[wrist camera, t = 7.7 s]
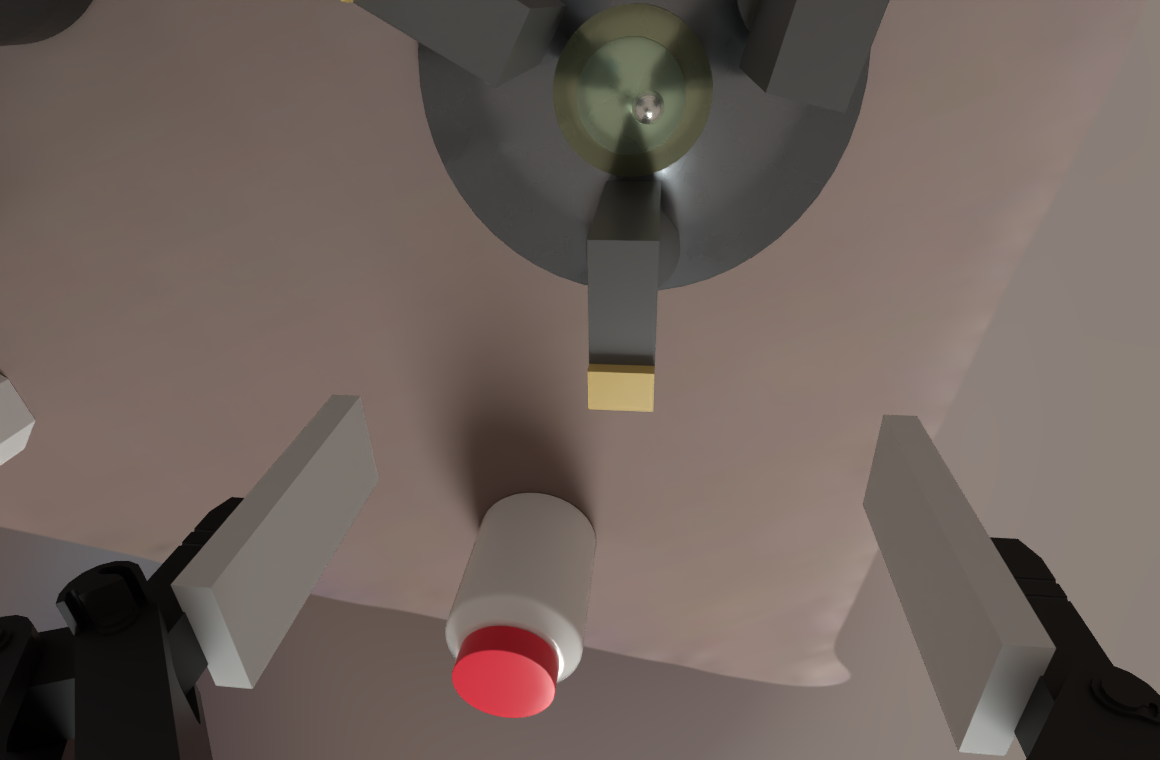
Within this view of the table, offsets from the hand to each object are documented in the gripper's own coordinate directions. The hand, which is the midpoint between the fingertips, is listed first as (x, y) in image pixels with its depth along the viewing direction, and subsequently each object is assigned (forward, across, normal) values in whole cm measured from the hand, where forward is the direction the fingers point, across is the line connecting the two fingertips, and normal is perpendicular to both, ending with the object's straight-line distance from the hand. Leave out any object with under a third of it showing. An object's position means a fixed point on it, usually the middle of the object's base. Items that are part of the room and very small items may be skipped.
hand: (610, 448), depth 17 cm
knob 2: (+17, 0, 0) cm, 17 cm away
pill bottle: (+19, -6, -21) cm, 29 cm away
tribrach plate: (+19, 0, +7) cm, 20 cm away
